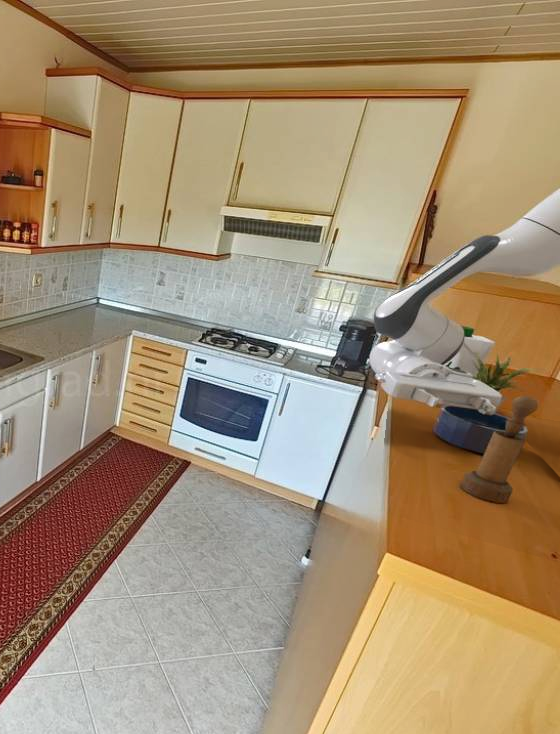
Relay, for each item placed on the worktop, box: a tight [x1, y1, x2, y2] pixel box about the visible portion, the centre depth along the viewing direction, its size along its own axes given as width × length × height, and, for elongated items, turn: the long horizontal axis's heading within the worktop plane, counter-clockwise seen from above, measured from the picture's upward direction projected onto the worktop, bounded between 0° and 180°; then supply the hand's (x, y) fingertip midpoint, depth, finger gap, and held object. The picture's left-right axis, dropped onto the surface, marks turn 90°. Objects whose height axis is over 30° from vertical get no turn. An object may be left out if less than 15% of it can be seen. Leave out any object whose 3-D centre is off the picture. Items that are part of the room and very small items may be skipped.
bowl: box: [432, 405, 529, 455], centre depth 105 cm, size 14×14×6 cm
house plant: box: [471, 354, 542, 414], centre depth 118 cm, size 14×14×16 cm
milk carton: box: [444, 325, 496, 378], centre depth 129 cm, size 9×9×20 cm
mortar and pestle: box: [459, 395, 539, 504], centre depth 82 cm, size 7×6×18 cm
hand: (464, 407), depth 92 cm, fingers open, 8 cm apart
